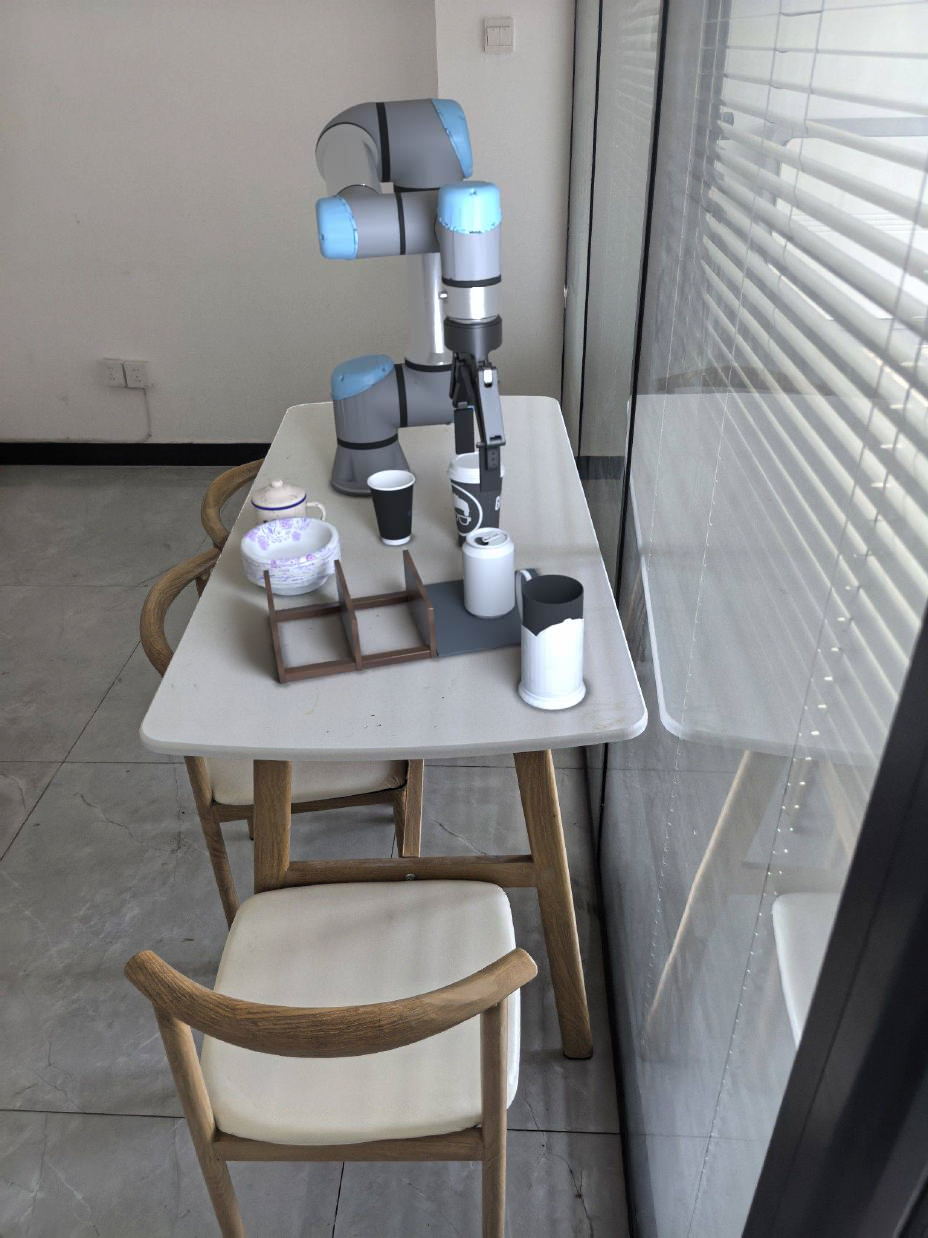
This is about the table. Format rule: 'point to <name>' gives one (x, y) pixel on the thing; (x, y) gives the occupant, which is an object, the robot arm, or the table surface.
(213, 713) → the table surface
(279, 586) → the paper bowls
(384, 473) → the dixie cup
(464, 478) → the coffee cup
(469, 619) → the mat
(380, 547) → the table surface
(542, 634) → the glass holder
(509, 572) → the can
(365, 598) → the rack
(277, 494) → the teacup with lid
